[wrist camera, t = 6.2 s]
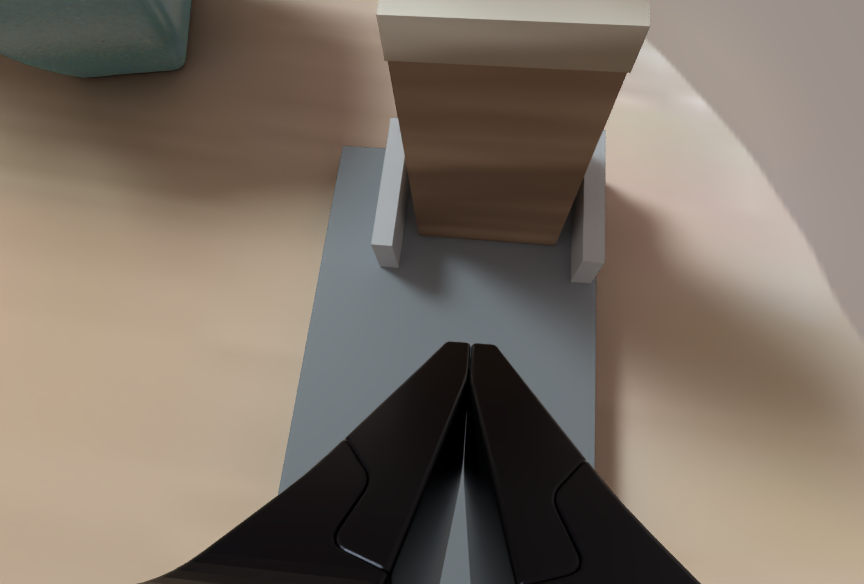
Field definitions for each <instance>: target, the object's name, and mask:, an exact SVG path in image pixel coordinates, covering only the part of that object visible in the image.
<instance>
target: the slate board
mask: <svg viewBox="0 0 864 584" xmlns="http://www.w3.org/2000/svg"><path fill="white" fill-rule="evenodd" d="M605 156H606V130H603V132H602V134H601V137H600V139H599V141H598V144H597V146H596V149H595V151H594V153H593V156H592V158H591V161H590V163H589V166H588V168H587V170H586V173H585V175H584V178H583V180H582V182H581V185H580V187H579V190H578V192H577V194H576V197H575V199H574V202H573V204H572V206H571V209H570V211H569V214H568V216H567V218H566V221H565V223H564V226H563V228H562V231H561V233H560V235H559V238H558V240H557V243H556V245H555V246H554V245H541V244H528V243H515V242H502V241H489V240H476V239H463V238H450V237H436V236H423V235H419V233H418V228H417V222H416V217H415V211H414V205H413V200H412V194H411V188H410V183H409V177H408V172H407V166H406V160H405V155H404V149H403V144H402V138H401V132H400V127H399V121H398V118H391V119H390V126H389V132H388V139H387V145H386V149H384V148H368V147H352V146H343V147H342V153H341V158H340V163H339V169H338V174H337V180H336V185H335V190H334V196H333V201H332V207H331V212H330V217H329V223H328V228H327V234H326V239H325V244H324V250H323V255H322V260H321V266H320V271H319V277H318V282H317V287H316V293H315V298H314V304H313V309H312V314H311V320H310V325H309V331H308V336H307V341H306V347H305V352H304V358H303V363H302V368H301V374H300V379H299V384H298V390H297V395H296V401H295V406H294V411H293V417H292V422H291V428H290V433H289V438H288V444H287V449H286V455H285V460H284V465H283V471H282V476H281V481H280V487H279V492H278V495H279V494H280V493H282V492H283V491H284V490H285V489H287V488H288V487H289V486H290V485H292V484H293V483H294V482H296V481H297V480H298V479H299V478H301V477H302V476H303V475H304V474H306V473H307V472H308V471H309V470H310V469H311V468H312V467H314V466H315V465H316V464H317V463H318V462H319V461H320V460H321V459H323V458H324V457H325V456H326V455H327V454H328V453H329V452H330V451H331V450H332V449H334V448H335V447H336V446H337V445H338V444H339V443H340V442H341V441H342V440H345V438H346V437H347V436H348V435H349V434H350V433H351V432H352V431H353V430H354V429H355V428H356V427H357V426H358V425H359V424H360V423H361V422H362V421H363V420H364V419H366V418H367V417H368V416H369V415H370V414H371V413H372V412H373V411H374V410H375V409H376V408H377V407H378V406H379V405H380V404H381V403H382V402H384V401H385V400H386V399H387V398H388V397H389V396H390V395H391V394H392V393H393V392H394V391H395V390H396V389H397V388H398V387H399V386H400V385H401V384H403V383H404V382H405V381H406V380H407V379H408V378H409V377H410V376H411V375H412V374H413V373H414V372H415V371H416V370H417V369H418V368H419V367H421V366H422V365H423V364H424V363H425V362H426V361H427V360H428V359H429V358H430V357H431V356H432V355H433V354H434V353H435V352H436V351H437V350H439V349H440V348H441V347H442V346H443V345H444V344H445V343H446V342H449V341H451V342H465V343H469V344H470V346H472V345H473V344H475V343H479V344H493V345H495V346H497V347H498V349H499V350H500V351H501V353H502V354H503V355H504V356H505V358H506V359H507V360H508V361H509V363H510V364H511V365H512V366H513V368H514V369H515V370H516V371H517V373H518V374H519V375H520V377H521V378H522V379H523V380H524V382H525V383H526V384H527V385H528V387H529V388H530V389H531V390H532V392H533V393H534V394H535V395H536V397H537V398H538V399H539V401H540V402H541V403H542V404H543V406H544V407H545V408H546V409H547V411H548V412H549V413H550V414H551V416H552V417H553V418H554V419H555V421H556V422H557V423H558V424H559V426H560V427H561V428H562V430H563V431H564V432H565V433H566V435H567V436H568V437H569V438H570V440H571V441H572V442H573V443H574V445H575V446H576V447H577V448H578V450H579V451H580V452H581V454H582V455H583V456H584V457H585V459H586V462H589V463H590V465H591V466H592V467H593V468H594V465H595V366H596V275H597V274H598V272H599V271H600V269H601V268H602V266H603V265H604V263H605ZM470 355H471V352H470ZM466 415H467V414H466ZM465 432H466V429H465ZM464 448H465V444H464ZM463 469H464V459H463ZM463 469H462V476H461V481H460V487H459V492H458V497H457V501H456V506H455V511H454V516H453V521H452V526H451V531H450V536H449V540H448V545H447V550H446V555H445V560H444V565H443V570H442V575H441V579H440V584H470V569H469V554H468V539H467V524H466V509H465V494H464V474H463Z"/></svg>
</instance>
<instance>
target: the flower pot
mask: <svg viewBox="0 0 864 584" xmlns="http://www.w3.org/2000/svg"><path fill="white" fill-rule="evenodd" d="M191 3H192V0H0V54H1V55H4V56H6V57H8V58H11V59H13V60H16V61H19V62H21V63H24V64H27V65H30V66H33V67H36V68H40V69H44V70H47V71H51V72H56V73H60V74H65V75H70V76H75V77H79V78H87V77H100V76H109V75H119V74H130V73H144V72H156V71H169V70H176V69H179V68H181V67H182V66H183V65H184V63H185V60H186V52H187V42H188V32H189V21H190V12H191Z"/></svg>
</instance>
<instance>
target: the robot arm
mask: <svg viewBox="0 0 864 584" xmlns="http://www.w3.org/2000/svg"><path fill="white" fill-rule="evenodd" d="M470 352H471V355H470ZM466 414H467V415H466ZM465 429H466V432H465ZM464 444H465V448H464ZM463 459H464V469H463ZM462 469H463V474H464V494H465V509H466V524H467V539H468V554H469V569H470V584H701V583H700V582H699V581H698V580H697V579H696V578H695V577H694V576H693V575H692V574H691V573H690V572H689V571H688V570H687V569H686V568H685V567H684V566H683V565H682V564H681V563H680V562H679V561H678V560H677V559H676V558H675V557H674V556H673V555H672V554H671V553H670V552H669V551H668V550H667V549H666V548H665V547H664V546H663V545H662V544H661V543H660V542H659V541H658V540H657V539H656V538H655V537H654V536H653V535H652V534H651V533H650V532H649V531H648V530H647V529H646V528H645V527H644V526H643V525H642V523H641V522H640V521H639V520H638V519H637V518H636V517H635V516H634V515H633V514H632V513H631V512H630V511H629V510H628V509H627V508H626V507H625V505H624V504H623V503H622V502H621V501H620V500H619V499H618V497H617V496H616V495H615V494H614V493H613V491H612V490H611V489H610V488H609V487H608V486H607V484H606V483H605V482H604V481H603V480H602V478H601V477H600V476H599V475H598V473H597V472H596V471H595V470H594V468H593V467H592V466H591V465H590V463H589V462H586V459H585V457H584V456H583V455H582V454H581V452H580V451H579V450H578V448H577V447H576V446H575V445H574V443H573V442H572V441H571V440H570V438H569V437H568V436H567V435H566V433H565V432H564V431H563V430H562V428H561V427H560V426H559V424H558V423H557V422H556V421H555V419H554V418H553V417H552V416H551V414H550V413H549V412H548V411H547V409H546V408H545V407H544V406H543V404H542V403H541V402H540V401H539V399H538V398H537V397H536V395H535V394H534V393H533V392H532V390H531V389H530V388H529V387H528V385H527V384H526V383H525V382H524V380H523V379H522V378H521V377H520V375H519V374H518V373H517V371H516V370H515V369H514V368H513V366H512V365H511V364H510V363H509V361H508V360H507V359H506V358H505V356H504V355H503V354H502V353H501V351H500V350H499V349H498V347H497V346H495V345H493V344H479V343H475V344H473V345H472V346H470V344H469V343H465V342H451V341H449V342H446V343H445V344H444V345H443V346H442V347H441V348H440V349H439V350H437V351H436V352H435V353H434V354H433V355H432V356H431V357H430V358H429V359H428V360H427V361H426V362H425V363H424V364H423V365H422V366H421V367H419V368H418V369H417V370H416V371H415V372H414V373H413V374H412V375H411V376H410V377H409V378H408V379H407V380H406V381H405V382H404V383H403V384H401V385H400V386H399V387H398V388H397V389H396V390H395V391H394V392H393V393H392V394H391V395H390V396H389V397H388V398H387V399H386V400H385V401H384V402H382V403H381V404H380V405H379V406H378V407H377V408H376V409H375V410H374V411H373V412H372V413H371V414H370V415H369V416H368V417H367V418H366V419H364V420H363V421H362V422H361V423H360V424H359V425H358V426H357V427H356V428H355V429H354V430H353V431H352V432H351V433H350V434H349V435H348V436H347V437H346V438H345V440H342V441H341V442H340V443H339V444H338V445H337V446H336V447H335V448H334V449H332V450H331V451H330V452H329V453H328V454H327V455H326V456H325V457H324V458H323V459H321V460H320V461H319V462H318V463H317V464H316V465H315V466H314V467H312V468H311V469H310V470H309V471H308V472H307V473H306V474H304V475H303V476H302V477H301V478H299V479H298V480H297V481H296V482H294V483H293V484H292V485H290V486H289V487H288V488H287V489H285V490H284V491H283V492H282V493H280V494H279V495H278V496H276V497H275V498H274V499H272V500H271V501H270V502H268V503H267V504H266V505H264V506H263V507H262V508H260V509H259V510H258V511H256V512H255V513H254V514H252V515H251V516H250V517H248V518H247V519H246V520H244V521H243V522H242V523H240V524H239V525H238V526H236V527H235V528H234V529H232V530H231V531H230V532H228V533H227V534H226V535H224V536H223V537H222V538H220V539H219V540H218V541H216V542H215V543H214V544H212V545H211V546H210V547H208V548H207V549H206V550H204V551H203V552H201V553H200V554H199V555H197V556H196V557H194V558H193V559H191V560H190V561H188V562H187V563H185V564H183V565H182V566H180V567H178V568H176V569H175V570H173V571H171V572H169V573H167V574H164V575H162V576H160V577H157V578H154V579H152V580H149V581H146V582H142V583H138V584H440V579H441V575H442V570H443V565H444V560H445V555H446V550H447V545H448V540H449V536H450V531H451V526H452V521H453V516H454V511H455V506H456V501H457V497H458V492H459V487H460V481H461V476H462Z"/></svg>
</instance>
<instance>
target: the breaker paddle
mask: <svg viewBox="0 0 864 584" xmlns="http://www.w3.org/2000/svg"><path fill="white" fill-rule="evenodd" d="M376 16H377V21H378V27H379V32H380V38H381V43H382V48H383V54H384V59H385V61H388V65H389V71H390V76H391V82H392V87H393V93H394V99H395V104H396V110H397V116H398V121H399V127H400V132H401V138H402V144H403V149H404V155H405V160H406V166H407V172H408V177H409V183H410V188H411V194H412V200H413V205H414V211H415V217H416V222H417V228H418V233H419V235H423V236H436V237H450V238H463V239H476V240H489V241H502V242H515V243H528V244H541V245H554V246H555V245H556V243H557V240H558V238H559V235H560V233H561V231H562V228H563V226H564V223H565V221H566V218H567V216H568V214H569V211H570V209H571V206H572V204H573V202H574V199H575V197H576V194H577V192H578V190H579V187H580V185H581V182H582V180H583V178H584V175H585V173H586V170H587V168H588V166H589V163H590V161H591V158H592V156H593V153H594V151H595V149H596V146H597V144H598V141H599V139H600V137H601V134H602V132H603V129H604V127H605V125H606V122H607V120H608V117H609V115H610V113H611V110H612V108H613V105H614V103H615V100H616V98H617V96H618V93H619V91H620V88H621V86H622V84H623V81H624V79H625V76H626V74H627V73H631V70H632V68H633V65H634V63H635V61H636V58H637V56H638V54H639V51H640V49H641V47H642V44H643V42H644V40H645V37H646V35H647V32H648V30H649V28H650V2H649V0H379V2H378V8H377V13H376Z"/></svg>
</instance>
